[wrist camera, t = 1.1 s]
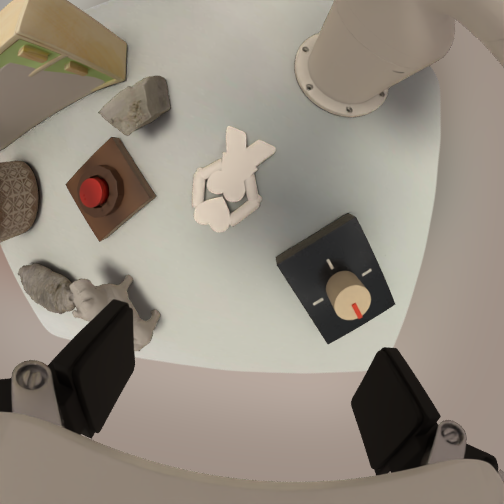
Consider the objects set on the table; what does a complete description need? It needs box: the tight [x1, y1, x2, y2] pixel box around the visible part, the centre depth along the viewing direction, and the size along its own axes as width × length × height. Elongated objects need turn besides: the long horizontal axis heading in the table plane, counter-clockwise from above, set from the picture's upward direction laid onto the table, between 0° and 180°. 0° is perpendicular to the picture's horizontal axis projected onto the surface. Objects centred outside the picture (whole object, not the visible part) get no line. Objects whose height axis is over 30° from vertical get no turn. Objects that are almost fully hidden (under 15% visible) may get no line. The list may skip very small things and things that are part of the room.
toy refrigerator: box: [0, 0, 127, 92], centre depth 18 cm, size 8×7×21 cm
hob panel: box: [276, 213, 395, 344], centre depth 34 cm, size 14×11×3 cm
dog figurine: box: [69, 275, 160, 351], centre depth 33 cm, size 5×13×11 cm, turn 36°
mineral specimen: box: [98, 76, 170, 136], centre depth 26 cm, size 7×9×8 cm
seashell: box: [18, 263, 76, 314], centre depth 35 cm, size 6×14×8 cm, turn 72°
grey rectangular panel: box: [0, 63, 105, 150], centre depth 20 cm, size 29×8×18 cm, turn 100°
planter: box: [0, 161, 38, 242], centre depth 29 cm, size 13×13×10 cm
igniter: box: [66, 137, 156, 242], centre depth 31 cm, size 10×10×4 cm
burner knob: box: [326, 271, 371, 320], centre depth 31 cm, size 4×4×5 cm
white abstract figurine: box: [192, 126, 276, 232], centre depth 32 cm, size 9×12×2 cm
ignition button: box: [80, 177, 109, 208], centre depth 29 cm, size 4×4×2 cm
